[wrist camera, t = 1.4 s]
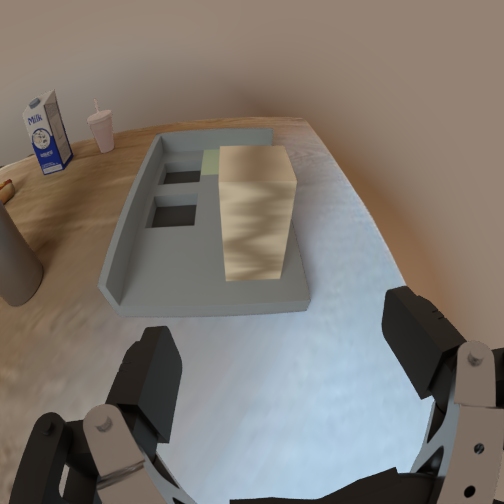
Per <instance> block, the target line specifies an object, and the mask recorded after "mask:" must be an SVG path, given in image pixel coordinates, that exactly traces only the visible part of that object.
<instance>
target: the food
mask: <svg viewBox="0 0 504 504" xmlns="http://www.w3.org/2000/svg"><path fill="white" fill-rule="evenodd" d="M14 192H15V189H14V186H13V184H12V181H11V179H9V180H7V181H6V182H4V183H3V184H2V185H0V199H1V201H2V203H3V205H4V204H5V203H6V202H7V201H8V200H9V199H10V198H12V196H13V195H14Z"/></svg>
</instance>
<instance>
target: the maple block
mask: <svg viewBox="0 0 504 504" xmlns="http://www.w3.org/2000/svg"><path fill="white" fill-rule="evenodd" d="M296 185H297V179H296V177H295V174H294V171H293V168H292V166H291V163H290V160H289V157H288V155H287V152H286V150H285V147H284V146H273V145H250V146H220V157H219V198H220V213H221V227H222V240H223V253H224V265H225V276H226V281H243V280H264V279H280V276H281V271H282V266H283V260H284V255H285V250H286V244H287V238H288V233H289V227H290V221H291V215H292V210H293V204H294V197H295V191H296Z"/></svg>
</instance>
